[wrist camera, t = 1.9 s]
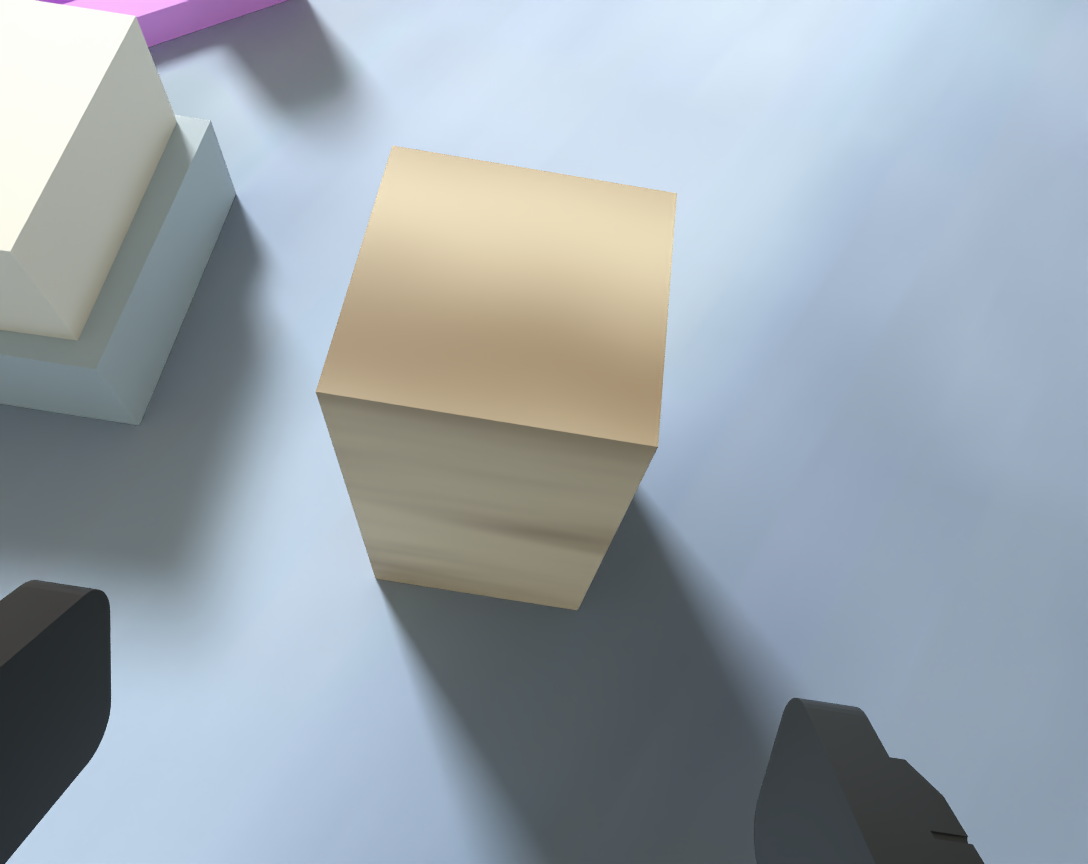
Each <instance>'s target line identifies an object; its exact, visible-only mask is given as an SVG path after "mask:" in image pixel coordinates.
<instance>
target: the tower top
mask: <svg viewBox="0 0 1088 864" xmlns="http://www.w3.org/2000/svg"><path fill="white" fill-rule="evenodd" d="M176 123H177V120H176V118H175V115H174V112H173V110H172V107H171V105H170V102H169V100H168V97H167V95H166V92H165V89H164V87H163V84H162V82H161V79H160V77H159V74H158V72H157V69H156V66H155V64H154V61H153V59H152V56H151V54H150V51H149V49H148V46H147V43H146V41H145V38H144V36H143V33H142V31H141V28H140V26H139V23H138V20H137V18H136V16H133V15H127V14H120V13H114V12H107V11H101V10H94V9H88V8H81V7H75V6H68V5H62V4H55V3H49V2H42V1H36V0H0V330H5V331H12V332H19V333H26V334H33V335H40V336H48V337H55V338H62V339H69V340H76V341H78V339H79V337H80V335H81V333H82V331H83V328H84V326H85V324H86V322H87V320H88V317H89V315H90V313H91V311H92V309H93V306H94V304H95V302H96V300H97V298H98V295H99V293H100V291H101V289H102V286H103V284H104V282H105V280H106V278H107V275H108V273H109V271H110V269H111V267H112V264H113V262H114V260H115V258H116V256H117V253H118V251H119V249H120V247H121V245H122V242H123V240H124V238H125V236H126V233H127V231H128V229H129V227H130V225H131V222H132V220H133V218H134V216H135V214H136V211H137V209H138V207H139V205H140V203H141V200H142V198H143V196H144V194H145V192H146V189H147V187H148V185H149V183H150V180H151V178H152V176H153V174H154V172H155V169H156V167H157V165H158V163H159V161H160V158H161V156H162V154H163V152H164V150H165V147H166V145H167V143H168V141H169V139H170V136H171V134H172V132H173V130H174V127H175V125H176Z"/></svg>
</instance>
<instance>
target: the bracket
mask: <svg viewBox="0 0 1088 864" xmlns="http://www.w3.org/2000/svg"><path fill="white" fill-rule="evenodd" d="M36 1H42V2H49V3H55V4H62V5H68V6H75V7H81V8H88V9H94V10H101V11H107V12H114V13H120V14H127V15H133V16H136V18H137V20H138V23H139V26H140V28H141V31H142V33H143V36H144V38H145V41H146V43H147V46H148V47H151V46H154V45H157V44H160V43H163V42H166V41H169V40H172V39H175V38H178V37H180V36H183V35H186V34H189V33H192V32H195V31H198V30H201V29H204V28H207V27H210V26H213V25H216V24H219V23H222V22H225V21H228V20H231V19H234V18H237V17H240V16H243V15H246V14H249V13H252V12H255V11H258V10H261V9H264V8H267V7H270V6H273V5H276V4H279V3H282V2H285V1H288V0H36Z"/></svg>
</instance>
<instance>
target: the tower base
mask: <svg viewBox="0 0 1088 864" xmlns="http://www.w3.org/2000/svg"><path fill="white" fill-rule="evenodd" d="M175 118H176V120H177V123H176V125H175V127H174V130H173V132H172V134H171V136H170V139H169V141H168V143H167V145H166V147H165V150H164V152H163V154H162V156H161V158H160V161H159V163H158V165H157V167H156V169H155V172H154V174H153V176H152V178H151V180H150V183H149V185H148V187H147V189H146V192H145V194H144V196H143V198H142V200H141V203H140V205H139V207H138V209H137V211H136V214H135V216H134V218H133V220H132V222H131V225H130V227H129V229H128V231H127V233H126V236H125V238H124V240H123V242H122V245H121V247H120V249H119V251H118V253H117V256H116V258H115V260H114V262H113V264H112V267H111V269H110V271H109V273H108V275H107V278H106V280H105V282H104V284H103V286H102V289H101V291H100V293H99V295H98V298H97V300H96V302H95V304H94V306H93V309H92V311H91V313H90V315H89V317H88V320H87V322H86V324H85V326H84V328H83V331H82V333H81V335H80V337H79V339H78V341H76V340H69V339H62V338H55V337H48V336H40V335H33V334H26V333H19V332H12V331H5V330H0V404H5V405H11V406H17V407H24V408H30V409H37V410H43V411H49V412H56V413H62V414H68V415H75V416H81V417H88V418H94V419H100V420H107V421H113V422H120V423H126V424H132V425H140V423H141V421H142V418H143V416H144V414H145V411H146V409H147V406H148V404H149V402H150V399H151V397H152V394H153V392H154V390H155V387H156V385H157V382H158V380H159V378H160V375H161V373H162V370H163V368H164V366H165V363H166V361H167V358H168V356H169V354H170V351H171V349H172V347H173V344H174V342H175V339H176V337H177V335H178V332H179V330H180V327H181V325H182V323H183V320H184V318H185V315H186V313H187V311H188V308H189V306H190V303H191V301H192V299H193V296H194V294H195V291H196V289H197V287H198V284H199V282H200V280H201V277H202V275H203V272H204V270H205V268H206V265H207V263H208V260H209V258H210V256H211V253H212V251H213V248H214V246H215V244H216V241H217V239H218V236H219V234H220V232H221V229H222V227H223V224H224V222H225V220H226V217H227V215H228V212H229V210H230V208H231V205H232V203H233V201H234V198H235V196H236V192H235V189H234V186H233V183H232V180H231V178H230V175H229V172H228V169H227V166H226V163H225V160H224V158H223V155H222V152H221V149H220V146H219V143H218V140H217V138H216V135H215V132H214V129H213V126H212V123H211V121H210V120H204V119H198V118H192V117H186V116H179V115H175Z"/></svg>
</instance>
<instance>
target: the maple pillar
mask: <svg viewBox="0 0 1088 864" xmlns="http://www.w3.org/2000/svg"><path fill="white" fill-rule="evenodd" d="M676 197H677V193H672V192H666V191H660V190H654V189H648V188H642V187H636V186H630V185H624V184H618V183H612V182H606V181H600V180H594V179H588V178H582V177H576V176H570V175H564V174H558V173H552V172H546V171H540V170H534V169H529V168H523V167H517V166H511V165H505V164H499V163H493V162H487V161H481V160H475V159H469V158H463V157H457V156H451V155H445V154H439V153H433V152H427V151H421V150H415V149H409V148H403V147H397V146H392V149H391V152H390V155H389V158H388V162H387V165H386V168H385V171H384V174H383V178H382V181H381V184H380V187H379V190H378V194H377V197H376V200H375V203H374V207H373V210H372V213H371V216H370V219H369V223H368V226H367V229H366V232H365V235H364V239H363V242H362V245H361V248H360V252H359V255H358V258H357V261H356V264H355V268H354V271H353V274H352V277H351V281H350V284H349V287H348V290H347V293H346V297H345V300H344V303H343V306H342V309H341V313H340V316H339V319H338V322H337V326H336V329H335V332H334V335H333V338H332V342H331V345H330V348H329V351H328V354H327V358H326V361H325V364H324V367H323V371H322V374H321V377H320V380H319V383H318V387H317V390H316V394H317V397H318V400H319V403H320V406H321V409H322V412H323V415H324V419H325V422H326V425H327V428H328V431H329V434H330V437H331V440H332V444H333V447H334V450H335V453H336V456H337V459H338V462H339V466H340V469H341V472H342V475H343V478H344V481H345V484H346V487H347V491H348V494H349V497H350V500H351V503H352V506H353V509H354V513H355V516H356V519H357V522H358V525H359V528H360V531H361V534H362V538H363V541H364V544H365V547H366V550H367V553H368V556H369V560H370V563H371V566H372V569H373V572H374V575H375V578H376V579H381V580H387V581H393V582H400V583H406V584H412V585H419V586H425V587H432V588H438V589H444V590H451V591H457V592H463V593H470V594H476V595H482V596H489V597H495V598H502V599H508V600H514V601H521V602H527V603H533V604H540V605H546V606H552V607H559V608H565V609H572V610H578V609H579V607H580V605H581V603H582V600H583V598H584V596H585V594H586V592H587V590H588V588H589V586H590V584H591V582H592V580H593V578H594V576H595V574H596V572H597V570H598V568H599V566H600V564H601V562H602V560H603V558H604V556H605V554H606V552H607V550H608V548H609V546H610V543H611V541H612V539H613V537H614V535H615V533H616V531H617V529H618V527H619V525H620V523H621V521H622V519H623V517H624V515H625V513H626V511H627V509H628V507H629V505H630V503H631V501H632V499H633V497H634V495H635V493H636V491H637V488H638V486H639V484H640V482H641V480H642V478H643V476H644V474H645V472H646V470H647V468H648V466H649V464H650V462H651V460H652V458H653V456H654V454H655V452H656V450H657V448H658V439H659V426H660V412H661V399H662V385H663V372H664V358H665V345H666V332H667V318H668V305H669V291H670V278H671V265H672V251H673V238H674V224H675V211H676Z"/></svg>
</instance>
